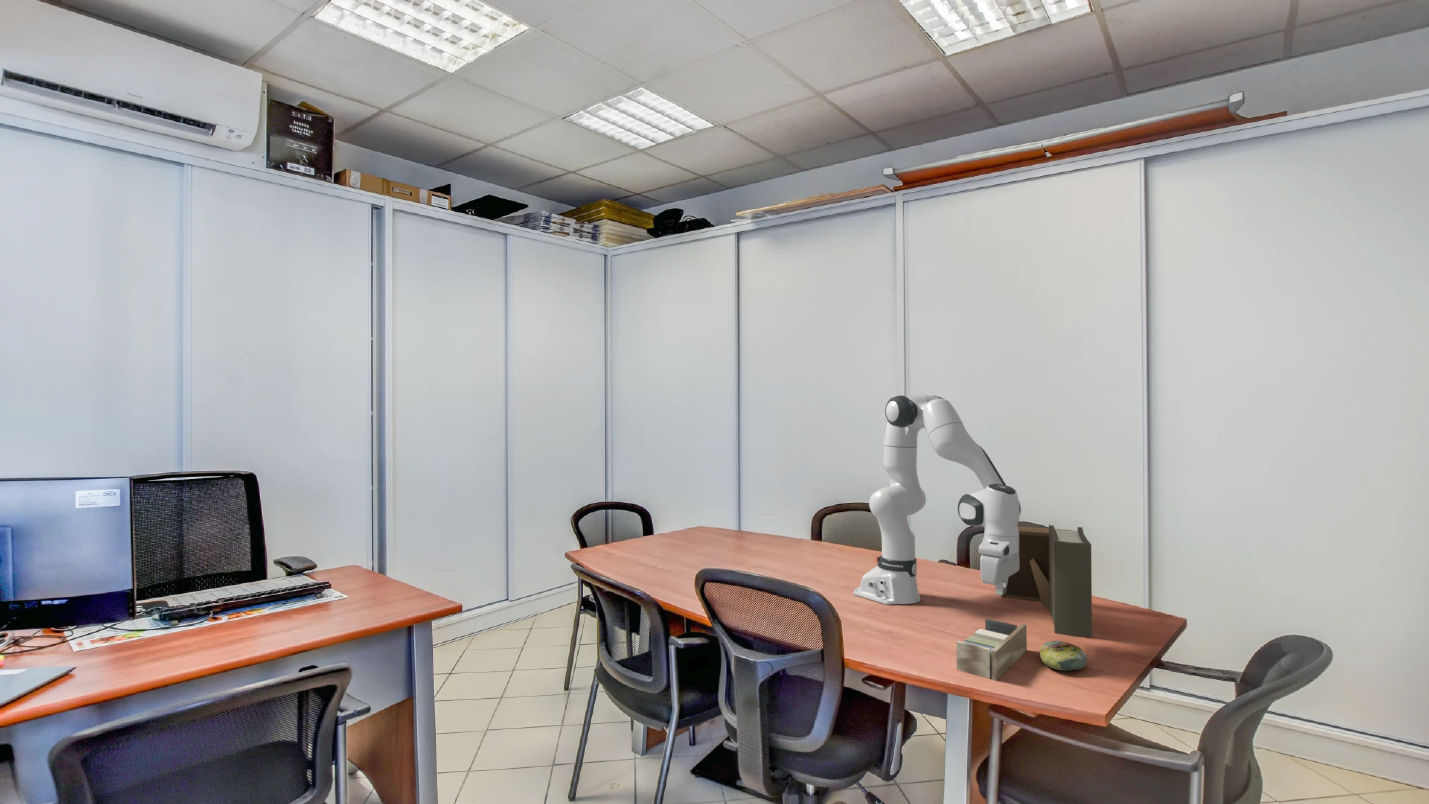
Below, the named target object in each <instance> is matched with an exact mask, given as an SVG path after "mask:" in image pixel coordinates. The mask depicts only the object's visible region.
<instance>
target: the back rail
mask: <svg viewBox="0 0 1429 804" xmlns="http://www.w3.org/2000/svg"><path fill="white" fill-rule="evenodd" d="M1027 637H1028V635H1027V624H1026V623H1021V624H1020V625H1019V626H1017V629H1016V630H1015V631H1013V632H1012V633H1011V634H1010V635H1009V636H1008V637H1007V638H1005V639H1004V640H1003V641H1002V642H1001V643H1000V644H999V645H997V646H996V647H995V648H994V649H993V650H992V677H991V649H989V648H985V647H981V646H977V645H973V644H969V643H965V642H963V641H961V640H956V670H957V671H959V672H964V673H967V674H971V675H974V676H979V677H982V678H986V679H988V680H990V679H991V680H992V681H996V682H997V680H998V679H999V678H1000V677H1002V675H1004V673H1005V672H1007V671H1008V670H1009V669H1010V668H1011V667H1012V666H1013V665H1014V664H1015V662H1017V660H1018V659H1020V657H1022V656H1023V655H1024V654H1025V653H1026V651H1027V649H1028V648H1027V647H1028V645H1027V642H1028V641H1027Z"/></svg>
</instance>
